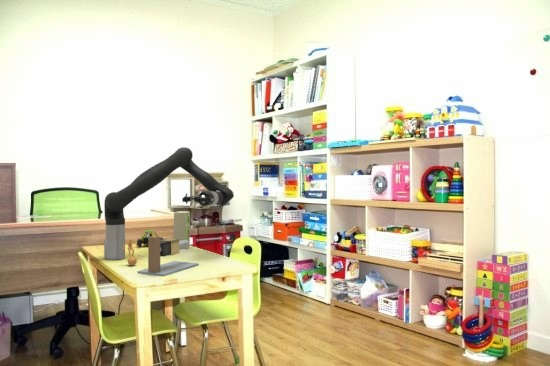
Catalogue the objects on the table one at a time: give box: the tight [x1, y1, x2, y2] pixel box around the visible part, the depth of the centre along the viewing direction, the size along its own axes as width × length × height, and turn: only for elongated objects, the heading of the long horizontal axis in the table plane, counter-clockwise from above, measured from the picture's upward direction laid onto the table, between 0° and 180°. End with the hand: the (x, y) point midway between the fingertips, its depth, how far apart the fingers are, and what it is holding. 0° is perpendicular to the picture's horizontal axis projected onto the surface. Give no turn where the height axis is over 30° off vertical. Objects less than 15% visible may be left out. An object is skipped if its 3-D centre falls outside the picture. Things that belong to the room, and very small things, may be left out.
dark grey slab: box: [160, 241, 171, 257], centre depth 202 cm, size 6×4×6 cm
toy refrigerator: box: [173, 210, 191, 250], centre depth 264 cm, size 8×7×21 cm
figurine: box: [122, 239, 140, 267], centre depth 215 cm, size 8×6×12 cm
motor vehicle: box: [136, 230, 164, 248], centre depth 273 cm, size 12×19×11 cm, turn 0°
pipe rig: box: [137, 235, 200, 277], centre depth 208 cm, size 14×26×16 cm, turn 156°
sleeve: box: [160, 238, 180, 256], centre depth 208 cm, size 6×6×6 cm
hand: (190, 200), depth 225 cm, fingers open, 8 cm apart
